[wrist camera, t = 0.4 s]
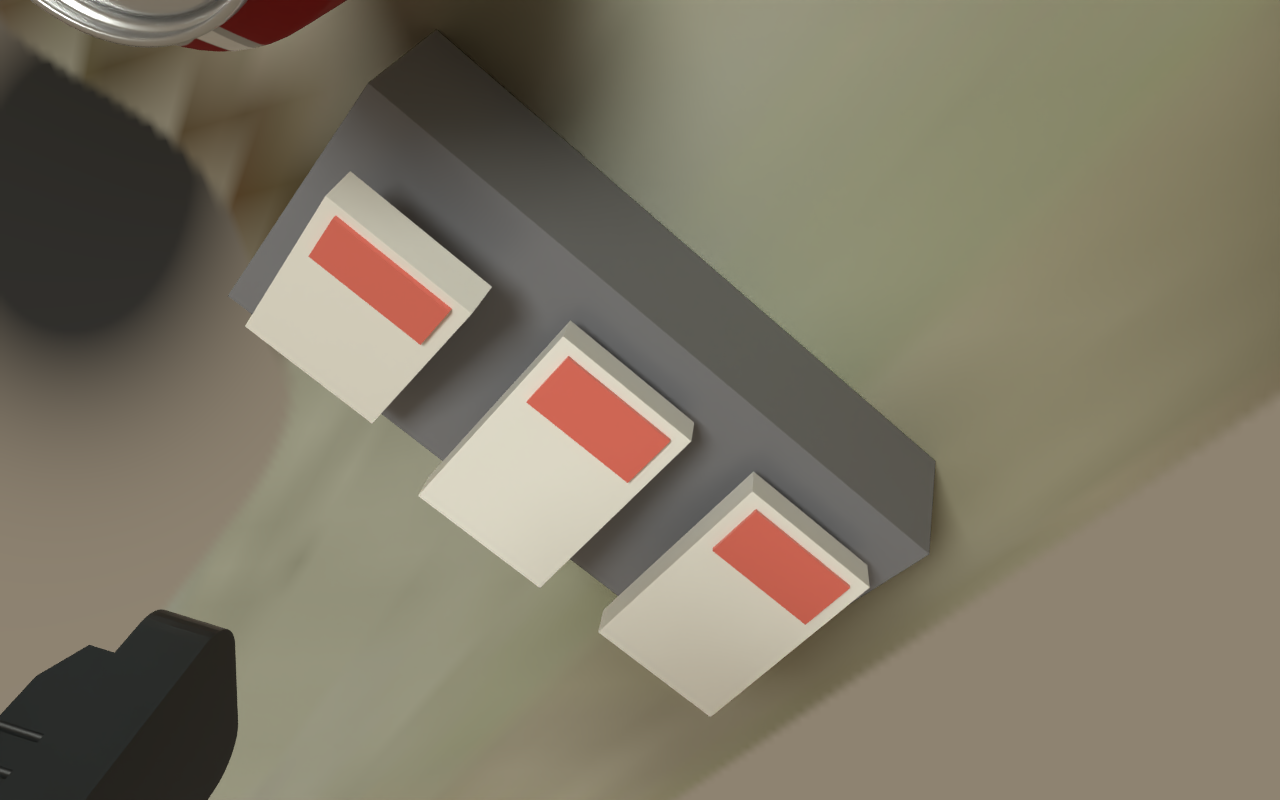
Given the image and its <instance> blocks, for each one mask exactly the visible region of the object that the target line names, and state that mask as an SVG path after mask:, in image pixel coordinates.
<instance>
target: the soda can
mask: <svg viewBox="0 0 1280 800" xmlns="http://www.w3.org/2000/svg"><path fill="white" fill-rule="evenodd" d="M31 1H32V2H34V3H35V4H36V5H37V6H39V7H40V8H42V9H43V10H45V11H46V12H48V13H49V14H50V15H52V16H54V17H55V18H57V19H59V20H60V21H62V22H64V23H66V24H67V25H69V26H71V27H73V28H75V29H77V30H79V31H81V32H84V33H86V34H89V35H91V36H94V37H96V38H99V39H102V40H106V41H109V42H113V43H117V44H122V45H127V46H135V47H164V46H170V45H178V46H181V47H187V48H192V49H197V50H207V51H238V50H245V49H252V48H256V47H260V46H264V45H267V44H271V43H273V42H276V41H278V40H280V39H283V38H285V37H287V36H289V35H291V34H293V33H294V32H296V31H298V30H300V29H301V28H303V27H305V26H306V25H308V24H310V23H311V22H313V21H314V20H316V19H317V18H319V17H321V16H322V15H324V14H325V13H327V12H329V11H330V10H332V9H333V8H335V7H337V6H338V5H340V4H341V3H343V2H345V1H346V0H31Z"/></svg>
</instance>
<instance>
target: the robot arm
mask: <svg viewBox="0 0 1280 800" xmlns="http://www.w3.org/2000/svg"><path fill="white" fill-rule="evenodd" d="M237 730H238V711H237V685H236V658H235V640H234V636H233V634H232V632H231V631H230V630H228V629H225V628H221V627H218V626H215V625H212V624H208V623H205V622H202V621H199V620H195V619H192V618H189V617H186V616H183V615H179V614H176V613H173V612H170V611H166V610H157V611H154V612H153V613H151V614H149V615H148V616H147V617H146V618H145V619H144V620H143V621H142V622H141V623H140V624H139V625H138V626H137V627H136V629H135V630H134V631H133V632H132V633H131V634H130V636H129V637H128V638H127V639H126V640H125V641H124V643H123V644H122V645H121V646H120V647H119V648H118V649H117V651H116V652H115V653H114V652H110V651H107V650H104V649H101V648H97V647H94V646H91V645H88V646H87V647H85V648H83V649H82V650H80V651H78V652H76V653H75V654H73V655H71V656H70V657H68V658H66V659H64V660H63V661H61V662H59V663H58V664H56V665H54V666H53V667H51V668H49V669H48V670H46V671H44V672H42V673H41V674H39V675H37V676H36V677H35V678H34V679H33V680H32V681H31V682H30V683H29V684H28V686H27V687H26V688H25V689H24V690H23V691H22V692H21V693H20V694H19V695H18V696H17V698H16V699H15V700H14V701H13V702H12V703H11V704H10V705H9V706H8V707H7V708H6V710H5V711H4V712H3V713H2V714H1V715H0V800H208V798H209V797H210V795H211V794H212V792H213V791H214V789H215V788H216V786H217V785H218V783H219V781H220V779H221V778H222V776H223V774H224V772H225V770H226V767H227V765H228V763H229V760H230V758H231V755H232V752H233V749H234V745H235V741H236V737H237Z"/></svg>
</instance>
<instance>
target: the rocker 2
mask: <svg viewBox="0 0 1280 800" xmlns="http://www.w3.org/2000/svg"><path fill="white" fill-rule="evenodd" d="M868 588H870V585H869V576H868V567H867V565H866V564H865V563H864V562H863V561H862V560H860V559H859V558H858V557H857V556H856V555H854V554H853V553H852V552H851V551H850V550H848V549H847V548H846V547H845V546H843V545H842V544H841V543H840V542H839V541H837V540H836V539H835V538H834V537H833V536H831V535H830V534H829V533H828V532H826V531H825V530H824V529H823V528H822V527H820V526H819V525H818V524H817V523H816V522H814V521H813V520H812V519H811V518H809V517H808V516H807V515H806V514H805V513H803V512H802V511H801V510H800V509H799V508H797V507H796V506H795V505H794V504H792V503H791V502H790V501H789V500H788V499H786V498H785V497H784V496H783V495H782V494H780V493H779V492H778V491H777V490H776V489H774V488H773V487H772V486H771V485H769V484H768V483H767V482H766V481H765V480H763V479H762V478H761V477H760V476H759V475H757V474H756V473H755V472H754V471H753V472H752V473H751V474H750V475H749V476H748V477H747V478H746V479H745V480H744V481H743V482H741V483H740V484H739V485H738V486H737V487H736V488H735V489H734V490H733V491H732V492H731V493H730V494H728V495H727V496H726V497H725V498H724V499H723V500H722V501H721V502H720V503H719V504H718V505H717V506H715V507H714V508H713V509H712V510H711V511H710V512H709V513H708V514H707V515H706V516H705V517H704V518H702V519H701V520H700V521H699V522H698V523H697V524H696V525H695V526H694V527H693V528H692V529H690V530H689V531H688V532H687V533H686V534H685V535H684V536H683V537H682V538H681V539H680V540H679V541H677V542H676V543H675V544H674V545H673V546H672V547H671V548H670V549H669V550H668V551H667V552H666V553H664V554H663V555H662V556H661V557H660V558H659V559H658V560H657V561H656V562H655V563H654V564H653V565H651V566H650V567H649V568H648V569H647V570H646V571H645V572H644V573H643V574H642V575H641V576H640V577H638V578H637V579H636V580H635V581H634V582H633V583H632V584H631V585H630V586H629V587H628V588H627V589H625V590H624V591H623V592H622V593H621V594H620V595H619V596H618V597H617V598H616V599H615V600H613V601H612V602H611V603H610V604H609V605H608V606H607V607H606V608H605V609H604V610H603V614H602V618H601V623H600V627H599V631H598V632H599V633H600V634H601V635H603V636H604V637H605V638H607V639H608V640H609V641H611V642H612V643H613V644H615V645H616V646H617V647H619V648H620V649H621V650H623V651H624V652H625V653H626V654H628V655H629V656H630V657H632V658H633V659H634V660H636V661H637V662H638V663H640V664H641V665H642V666H644V667H645V668H646V669H648V670H649V671H650V672H652V673H653V674H654V675H656V676H657V677H658V678H660V679H661V680H662V681H663V682H665V683H666V684H667V685H669V686H670V687H671V688H673V689H674V690H675V691H677V692H678V693H679V694H681V695H682V696H683V697H685V698H686V699H687V700H689V701H690V702H691V703H693V704H694V705H695V706H696V707H698V708H699V709H700V710H702V711H703V712H704V713H706V714H707V715H708V716H710V717H711V716H713V715H714V714H715V713H716V712H717V711H719V710H720V709H721V708H722V707H724V706H725V705H726V704H727V703H728V702H730V701H731V700H732V699H733V698H735V697H736V696H737V695H738V694H740V693H741V692H742V691H743V690H744V689H746V688H747V687H748V686H749V685H751V684H752V683H753V682H754V681H756V680H757V679H758V678H759V677H760V676H762V675H763V674H764V673H765V672H767V671H768V670H769V669H770V668H771V667H773V666H774V665H775V664H776V663H778V662H779V661H780V660H781V659H783V658H784V657H785V656H786V655H787V654H789V653H790V652H791V651H792V650H794V649H795V648H796V647H797V646H798V645H800V644H801V643H802V642H803V641H805V640H806V639H807V638H808V637H810V636H811V635H812V634H813V633H814V632H816V631H817V630H818V629H819V628H821V627H822V626H823V625H824V624H826V623H827V622H828V621H829V620H830V619H832V618H833V617H834V616H835V615H837V614H838V613H839V612H840V611H841V610H843V609H844V608H845V607H846V606H848V605H849V604H850V603H851V602H853V601H854V600H855V599H856V598H857V597H859V596H860V595H861V594H862V593H864V592H865V591H866V590H867V589H868Z"/></svg>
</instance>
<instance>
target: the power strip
mask: <svg viewBox="0 0 1280 800" xmlns="http://www.w3.org/2000/svg"><path fill="white" fill-rule="evenodd" d="M350 171H351V172H352V173H353V174H354V175H356V176H357V177H358V178H359V179H361V180H362V181H363V182H364V183H366V184H367V185H368V186H369V187H370V188H372V189H373V190H374V191H375V192H377V193H378V194H379V195H380V196H381V197H383V198H384V199H385V200H386V201H388V202H389V203H390V204H391V205H392V206H394V207H395V208H396V209H397V210H399V211H400V212H401V213H402V214H403V215H405V216H406V217H407V218H408V219H410V220H411V221H412V222H413V223H414V224H416V225H417V226H418V227H419V228H421V229H422V230H423V231H424V232H425V233H427V234H428V235H429V236H430V237H432V238H433V239H434V240H435V241H436V242H438V243H439V244H440V245H441V246H443V247H444V248H445V249H446V250H447V251H449V252H450V253H451V254H452V255H454V256H455V257H456V258H457V259H458V260H460V261H461V262H462V263H463V264H465V265H466V266H467V267H468V268H470V269H471V270H472V271H473V272H474V273H476V274H477V275H478V276H479V277H481V278H482V279H483V280H484V281H485V282H487V283H488V284H489V285H490V286H492V288H491V289H490V290H489V292H488V293H487V294H486V296H485V297H484V298H483V300H482V301H481V302H480V304H479V305H478V306H477V308H476V309H475V310H474V312H473V313H472V314H471V315H470V316H469V317H468V318H467V320H466V321H465V322H464V323H463V324H462V325H461V326H460V327H459V328H458V329H457V331H456V332H455V333H454V334H453V335H452V336H451V337H450V338H449V339H448V340H447V342H446V343H445V344H444V345H443V346H442V347H441V348H440V349H439V350H438V351H437V353H436V354H435V355H434V356H433V357H432V358H431V359H430V360H429V361H428V362H427V364H426V365H425V366H424V367H423V368H422V369H421V370H420V371H419V372H418V373H417V375H416V376H415V377H414V378H413V379H412V380H411V381H410V382H409V383H408V384H407V386H406V387H405V388H404V389H403V390H402V391H401V392H400V393H399V394H398V395H397V397H396V398H395V399H394V400H393V401H392V402H391V403H390V404H389V405H388V406H387V408H386V409H385V410H384V411H383V412H382V413H381V414H382V415H384V416H385V417H386V418H387V419H389V420H390V421H391V422H393V423H394V424H395V425H397V426H398V427H399V428H400V429H402V430H403V431H404V432H406V433H407V434H408V435H410V436H411V437H412V438H413V439H415V440H416V441H417V442H419V443H420V444H421V445H423V446H424V447H425V448H426V449H428V450H429V451H430V452H432V453H433V454H434V455H436V456H437V457H438V458H439V459H441V460H442V461H443V460H444V459H445V458H446V457H447V456H448V455H449V454H450V453H451V451H452V450H453V449H454V448H455V447H456V446H457V445H458V444H459V443H460V442H461V440H462V439H463V438H464V437H465V436H466V435H467V434H468V433H469V432H470V431H471V429H472V428H473V427H474V426H475V425H476V424H477V423H478V422H479V421H480V419H481V418H482V417H483V416H484V415H485V414H486V413H487V412H488V411H489V410H490V408H491V407H492V406H493V405H494V404H495V403H496V402H497V401H498V400H499V399H500V397H501V396H502V395H503V394H504V393H505V392H506V391H507V390H508V389H509V388H510V386H511V385H512V384H513V383H514V382H515V381H516V380H517V379H518V378H519V376H520V375H521V374H522V373H523V372H524V371H525V370H526V369H527V368H528V367H529V365H530V364H531V363H532V362H533V361H534V360H535V359H536V358H537V357H538V356H539V354H540V353H541V352H542V351H543V350H544V349H545V348H546V347H547V346H548V345H549V343H550V342H551V341H552V340H553V339H554V338H555V337H556V336H557V335H558V333H559V332H560V331H561V330H562V329H563V328H564V327H565V326H566V325H567V324H568V322H569V321H570V320H571V321H572V322H573V323H574V324H575V325H577V326H578V327H579V328H580V329H581V330H583V331H584V332H585V333H586V334H587V335H589V336H590V337H591V338H592V339H594V340H595V341H596V342H597V343H598V344H600V345H601V346H602V347H603V348H604V349H606V350H607V351H608V352H609V353H611V354H612V355H613V356H614V357H615V358H617V359H618V360H619V361H620V362H621V363H623V364H624V365H625V366H626V367H628V368H629V369H630V370H631V371H632V372H634V373H635V374H636V375H637V376H638V377H640V378H641V379H642V380H643V381H645V382H646V383H647V384H648V385H649V386H651V387H652V388H653V389H654V390H655V391H657V392H658V393H659V394H660V395H661V396H663V397H664V398H665V399H666V400H668V401H669V402H670V403H671V404H672V405H674V406H675V407H676V408H677V409H678V410H680V411H681V412H682V413H683V414H685V415H686V416H687V417H688V418H689V419H691V420H692V421H693V422H694V427H693V433H692V440H691V442H690V443H689V444H688V445H687V446H686V447H685V448H684V449H683V450H682V451H681V452H680V453H679V454H678V455H676V456H675V457H674V458H673V459H672V460H671V461H670V462H669V463H668V464H667V465H666V466H665V467H664V468H663V469H662V470H661V471H660V472H659V473H658V474H657V475H656V476H655V477H654V478H653V479H652V480H651V481H650V482H649V483H648V484H647V485H645V486H644V487H643V488H642V489H641V490H640V491H639V492H638V493H637V494H636V495H635V496H634V497H633V498H632V499H631V500H630V501H629V502H628V503H627V504H626V505H625V506H624V507H623V508H622V509H621V510H620V511H619V512H618V513H617V514H616V515H615V516H613V517H612V518H611V519H610V520H609V521H608V522H607V523H606V524H605V525H604V526H603V527H602V528H601V529H600V530H599V531H598V532H597V533H596V534H595V535H594V536H593V537H592V538H591V539H590V540H589V541H588V542H587V543H586V544H585V545H584V546H582V547H581V548H580V549H579V550H578V551H577V552H576V553H575V554H574V555H573V556H572V557H571V558H570V559H571V560H572V561H573V562H575V563H576V564H577V565H579V566H580V567H581V568H583V569H584V570H585V571H586V572H588V573H589V574H590V575H592V576H593V577H594V578H596V579H597V580H598V581H599V582H601V583H602V584H603V585H605V586H606V587H607V588H609V589H610V590H611V591H612V592H614V593H615V594H616V595H618V596H619V595H620V594H621V593H622V592H623V591H624V590H625V589H627V588H628V587H629V586H630V585H631V584H632V583H633V582H634V581H635V580H636V579H637V578H638V577H640V576H641V575H642V574H643V573H644V572H645V571H646V570H647V569H648V568H649V567H650V566H651V565H653V564H654V563H655V562H656V561H657V560H658V559H659V558H660V557H661V556H662V555H663V554H664V553H666V552H667V551H668V550H669V549H670V548H671V547H672V546H673V545H674V544H675V543H676V542H677V541H679V540H680V539H681V538H682V537H683V536H684V535H685V534H686V533H687V532H688V531H689V530H690V529H692V528H693V527H694V526H695V525H696V524H697V523H698V522H699V521H700V520H701V519H702V518H704V517H705V516H706V515H707V514H708V513H709V512H710V511H711V510H712V509H713V508H714V507H715V506H717V505H718V504H719V503H720V502H721V501H722V500H723V499H724V498H725V497H726V496H727V495H728V494H730V493H731V492H732V491H733V490H734V489H735V488H736V487H737V486H738V485H739V484H740V483H741V482H743V481H744V480H745V479H746V478H747V477H748V476H749V475H750V474H751V473H752V472H753V471H754V472H755V473H756V474H757V475H759V476H760V477H761V478H762V479H763V480H765V481H766V482H767V483H768V484H769V485H771V486H772V487H773V488H774V489H776V490H777V491H778V492H779V493H780V494H782V495H783V496H784V497H785V498H786V499H788V500H789V501H790V502H791V503H792V504H794V505H795V506H796V507H797V508H799V509H800V510H801V511H802V512H803V513H805V514H806V515H807V516H808V517H809V518H811V519H812V520H813V521H814V522H816V523H817V524H818V525H819V526H820V527H822V528H823V529H824V530H825V531H826V532H828V533H829V534H830V535H831V536H833V537H834V538H835V539H836V540H837V541H839V542H840V543H841V544H842V545H843V546H845V547H846V548H847V549H848V550H850V551H851V552H852V553H853V554H854V555H856V556H857V557H858V558H859V559H860V560H862V561H863V562H864V563H865V564H866V565H867V567H868V576H869V585H870V588H868V589H867V590H866V591H865V592H864V593H862V594H861V595H860V596H859V597H857V598H856V599H855V600H857V599H859V598H860V597H862V596H863V595H865V594H867V593H868V592H870V591H871V590H873V589H875V588H876V587H878V586H879V585H881V584H883V583H884V582H886V581H887V580H889V579H890V578H892V577H894V576H895V575H897V574H898V573H900V572H902V571H903V570H905V569H906V568H908V567H910V566H911V565H913V564H914V563H916V562H917V561H919V560H921V559H922V558H924V557H925V556H927V555H929V549H930V534H931V519H932V504H933V489H934V474H935V460H933V459H932V458H931V457H930V456H929V455H928V454H927V453H925V452H924V451H923V450H922V449H921V448H920V447H918V446H917V445H916V444H915V443H914V442H913V441H912V440H910V439H909V438H908V437H907V436H906V435H905V434H903V433H902V432H901V431H900V430H899V429H898V428H896V427H895V426H894V425H893V424H892V423H891V422H890V421H888V420H887V419H886V418H885V417H884V416H883V415H881V414H880V413H879V412H878V411H877V410H876V409H875V408H873V407H872V406H871V405H870V404H869V403H868V402H866V401H865V400H864V399H863V398H862V397H861V396H859V395H858V394H857V393H856V392H855V391H854V390H853V389H851V388H850V387H849V386H848V385H847V384H846V383H844V382H843V381H842V380H841V379H840V378H839V377H838V376H836V375H835V374H834V373H833V372H832V371H831V370H829V369H828V368H827V367H826V366H825V365H824V364H822V363H821V362H820V361H819V360H818V359H817V358H816V357H814V356H813V355H812V354H811V353H810V352H809V351H807V350H806V349H805V348H804V347H803V346H802V345H801V344H799V343H798V342H797V341H796V340H795V339H794V338H792V337H791V336H790V335H789V334H788V333H787V332H785V331H784V330H783V329H782V328H781V327H780V326H779V325H777V324H776V323H775V322H774V321H773V320H772V319H770V318H769V317H768V316H767V315H766V314H765V313H764V312H762V311H761V310H760V309H759V308H758V307H757V306H755V305H754V304H753V303H752V302H751V301H750V300H748V299H747V298H746V297H745V296H744V295H743V294H742V293H740V292H739V291H738V290H737V289H736V288H735V287H733V286H732V285H731V284H730V283H729V282H728V281H727V280H725V279H724V278H723V277H722V276H721V275H720V274H718V273H717V272H716V271H715V270H714V269H713V268H711V267H710V266H709V265H708V264H707V263H706V262H705V261H703V260H702V259H701V258H700V257H699V256H698V255H696V254H695V253H694V252H693V251H692V250H691V249H690V248H688V247H687V246H686V245H685V244H684V243H683V242H681V241H680V240H679V239H678V238H677V237H676V236H674V235H673V234H672V233H671V232H670V231H669V230H668V229H666V228H665V227H664V226H663V225H662V224H661V223H659V222H658V221H657V220H656V219H655V218H654V217H653V216H651V215H650V214H649V213H648V212H647V211H646V210H644V209H643V208H642V207H641V206H640V205H639V204H637V203H636V202H635V201H634V200H633V199H632V198H631V197H629V196H628V195H627V194H626V193H625V192H624V191H622V190H621V189H620V188H619V187H618V186H617V185H616V184H614V183H613V182H612V181H611V180H610V179H609V178H607V177H606V176H605V175H604V174H603V173H602V172H600V171H599V170H598V169H597V168H596V167H595V166H594V165H592V164H591V163H590V162H589V161H588V160H587V159H585V158H584V157H583V156H582V155H581V154H580V153H579V152H577V151H576V150H575V149H574V148H573V147H572V146H570V145H569V144H568V143H567V142H566V141H565V140H563V139H562V138H561V137H560V136H559V135H558V134H557V133H555V132H554V131H553V130H552V129H551V128H550V127H548V126H547V125H546V124H545V123H544V122H543V121H542V120H540V119H539V118H538V117H537V116H536V115H535V114H533V113H532V112H531V111H530V110H529V109H528V108H526V107H525V106H524V105H523V104H522V103H521V102H520V101H518V100H517V99H516V98H515V97H514V96H513V95H511V94H510V93H509V92H508V91H507V90H506V89H505V88H503V87H502V86H501V85H500V84H499V83H498V82H496V81H495V80H494V79H493V78H492V77H491V76H489V75H488V74H487V73H486V72H485V71H484V70H483V69H481V68H480V67H479V66H478V65H477V64H476V63H474V62H473V61H472V60H471V59H470V58H469V57H468V56H466V55H465V54H464V53H463V52H462V51H461V50H459V49H458V48H457V47H456V46H455V45H454V44H452V43H451V42H450V41H449V40H448V39H447V38H446V37H444V36H443V35H442V34H441V33H440V32H439V31H437V30H435V31H434V32H433V33H432V34H430V35H429V36H428V37H426V38H425V39H424V40H423V41H421V42H420V43H419V44H417V45H416V46H415V47H414V48H412V49H411V50H410V51H408V52H407V53H406V54H405V55H403V56H402V57H401V58H400V59H398V60H397V61H396V62H394V63H393V64H392V65H391V66H389V67H388V68H387V69H385V70H384V71H383V72H382V73H380V74H379V75H378V76H376V77H375V78H374V79H373V80H371V81H370V82H369V83H368V84H367V86H366V87H365V89H364V90H363V92H362V93H361V95H360V96H359V98H358V99H357V101H356V102H355V104H354V105H353V107H352V108H351V110H350V111H349V113H348V114H347V116H346V117H345V119H344V120H343V122H342V123H341V125H340V127H339V128H338V130H337V131H336V133H335V134H334V136H333V137H332V139H331V140H330V142H329V143H328V145H327V146H326V148H325V149H324V151H323V152H322V154H321V155H320V157H319V158H318V160H317V161H316V163H315V164H314V166H313V167H312V169H311V171H310V172H309V174H308V175H307V177H306V178H305V180H304V181H303V183H302V184H301V186H300V187H299V189H298V190H297V192H296V193H295V195H294V196H293V198H292V199H291V201H290V202H289V204H288V205H287V207H286V208H285V210H284V211H283V213H282V215H281V216H280V218H279V219H278V221H277V222H276V224H275V225H274V227H273V228H272V230H271V231H270V233H269V234H268V236H267V237H266V239H265V240H264V242H263V243H262V245H261V246H260V248H259V249H258V251H257V252H256V254H255V255H254V257H253V258H252V260H251V262H250V263H249V265H248V266H247V268H246V269H245V271H244V272H243V274H242V275H241V277H240V278H239V280H238V281H237V283H236V284H235V286H234V287H233V289H232V290H231V292H230V293H229V295H228V296H229V297H230V298H231V299H233V300H234V301H235V302H237V303H238V304H239V305H241V306H242V307H243V308H245V309H246V310H247V311H248V312H250V313H251V314H253V313H254V311H255V309H256V308H257V306H258V304H259V303H260V301H261V300H262V298H263V296H264V295H265V293H266V291H267V290H268V288H269V287H270V285H271V283H272V282H273V280H274V278H275V277H276V275H277V274H278V272H279V270H280V269H281V267H282V265H283V264H284V262H285V261H286V259H287V257H288V256H289V254H290V253H291V251H292V249H293V248H294V246H295V244H296V243H297V241H298V240H299V238H300V236H301V235H302V233H303V231H304V230H305V228H306V227H307V225H308V223H309V222H310V220H311V218H312V217H313V215H314V214H315V212H316V210H317V209H318V207H319V205H320V204H321V202H322V201H323V199H324V197H325V196H326V195H327V194H328V193H329V192H330V191H331V190H332V189H333V188H334V187H335V186H336V185H337V184H338V183H339V182H340V181H341V180H342V179H343V178H344V177H345V176H346V175H347V174H348V173H349V172H350ZM855 600H854V601H855ZM854 601H853V602H854ZM851 603H852V602H851ZM851 603H850V604H851Z"/></svg>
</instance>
